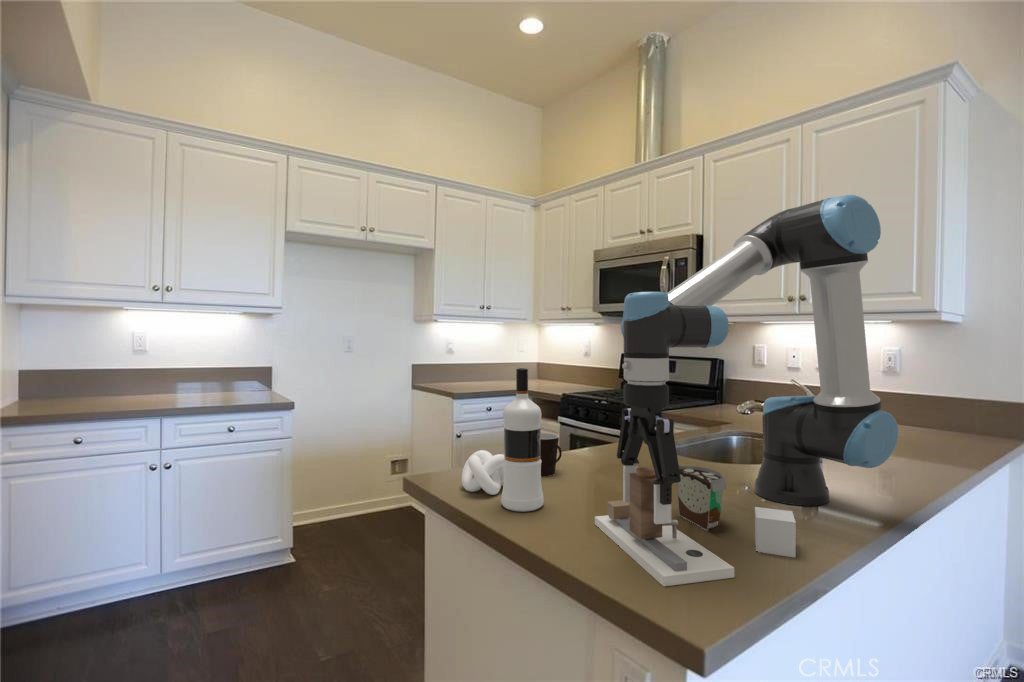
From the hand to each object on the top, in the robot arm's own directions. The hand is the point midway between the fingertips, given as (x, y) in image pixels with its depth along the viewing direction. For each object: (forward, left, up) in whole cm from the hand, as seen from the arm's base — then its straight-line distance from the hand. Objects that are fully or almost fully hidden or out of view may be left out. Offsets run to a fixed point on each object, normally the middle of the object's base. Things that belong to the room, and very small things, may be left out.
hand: (645, 511), depth 89 cm
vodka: (+14, -28, -7) cm, 32 cm away
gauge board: (-3, -1, -7) cm, 7 cm away
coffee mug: (+2, -51, -7) cm, 52 cm away
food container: (-19, -10, -7) cm, 22 cm away
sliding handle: (-2, 0, -5) cm, 5 cm away
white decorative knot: (+19, -41, -7) cm, 46 cm away
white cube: (-23, +4, -7) cm, 24 cm away
